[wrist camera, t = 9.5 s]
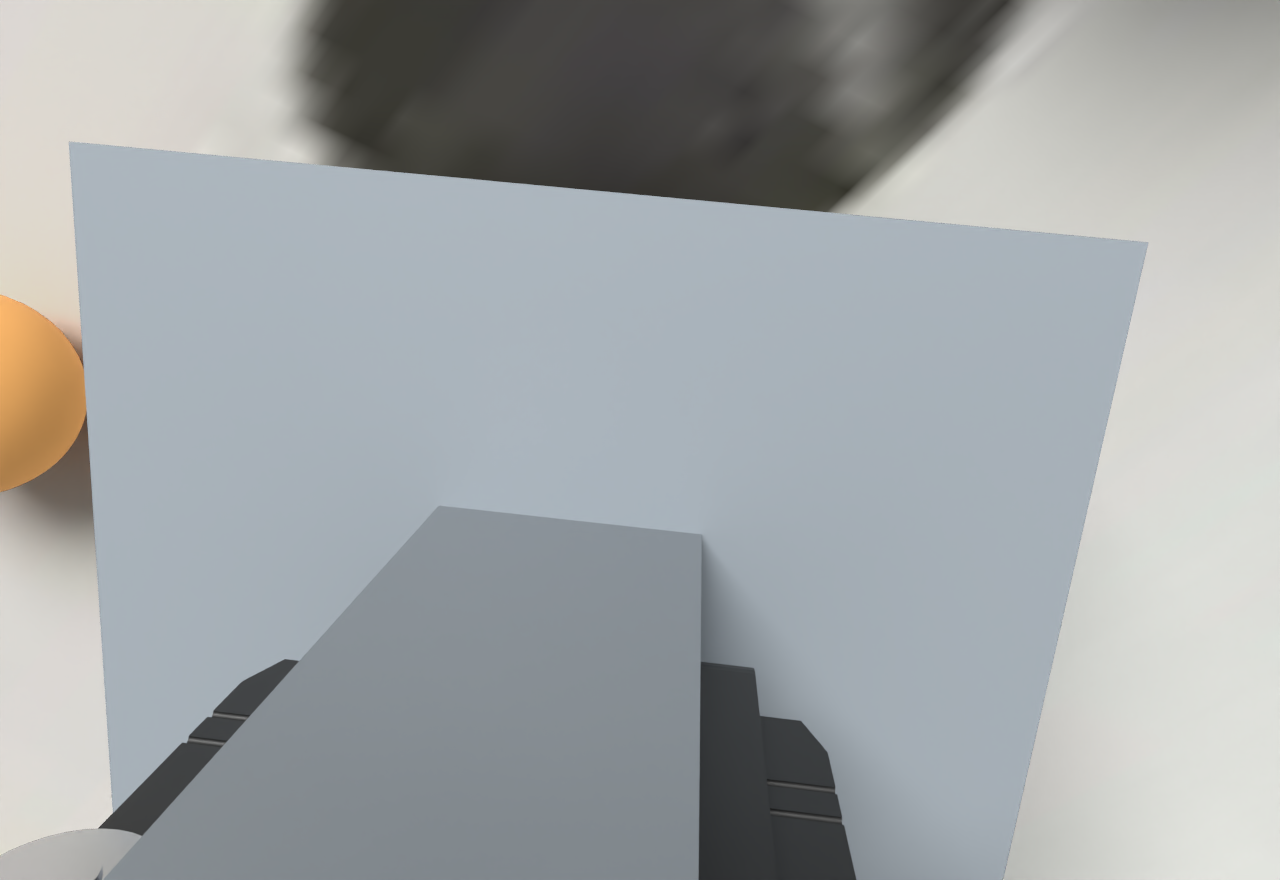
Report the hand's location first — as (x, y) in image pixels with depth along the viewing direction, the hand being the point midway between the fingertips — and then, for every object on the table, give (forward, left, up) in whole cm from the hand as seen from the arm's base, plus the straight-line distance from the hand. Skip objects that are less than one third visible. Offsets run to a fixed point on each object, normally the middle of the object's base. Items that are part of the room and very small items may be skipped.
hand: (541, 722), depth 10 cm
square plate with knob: (0, 0, -10) cm, 10 cm away
